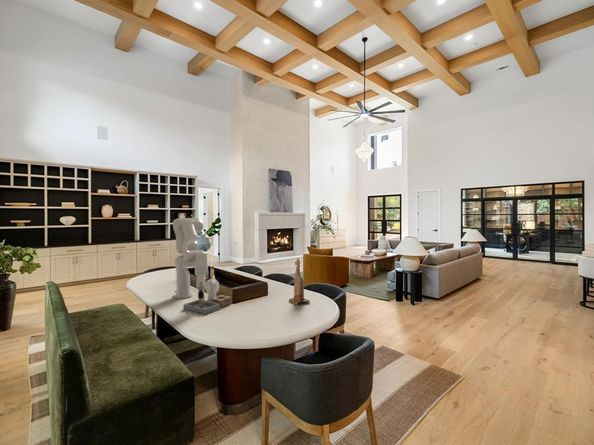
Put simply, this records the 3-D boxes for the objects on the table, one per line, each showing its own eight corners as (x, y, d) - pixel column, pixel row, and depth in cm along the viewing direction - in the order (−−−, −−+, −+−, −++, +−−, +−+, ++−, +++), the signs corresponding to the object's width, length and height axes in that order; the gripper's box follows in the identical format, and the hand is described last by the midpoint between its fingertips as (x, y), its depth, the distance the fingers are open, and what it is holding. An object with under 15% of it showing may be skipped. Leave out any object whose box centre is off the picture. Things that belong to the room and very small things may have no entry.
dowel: (198, 309, 190) (198, 287, 189) (199, 307, 193) (198, 286, 193) (204, 308, 191) (204, 287, 190) (204, 307, 194) (204, 286, 194)
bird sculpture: (301, 299, 214) (300, 256, 214) (310, 303, 204) (309, 257, 204) (288, 302, 208) (287, 257, 208) (297, 306, 198) (295, 259, 198)
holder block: (210, 305, 200) (210, 298, 199) (221, 301, 208) (221, 294, 208) (221, 308, 194) (221, 300, 194) (231, 304, 203) (231, 296, 203)
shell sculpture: (211, 302, 207) (210, 277, 206) (204, 300, 212) (203, 275, 211) (220, 299, 214) (220, 275, 213) (213, 297, 219) (213, 273, 218)
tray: (183, 309, 191) (183, 304, 191) (199, 304, 203) (199, 299, 202) (204, 315, 181) (204, 309, 181) (220, 309, 192) (219, 303, 192)
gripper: (196, 268, 199) (196, 292, 199) (193, 273, 182) (194, 300, 183) (207, 267, 200) (208, 292, 201) (206, 272, 184) (206, 299, 184)
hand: (201, 296), depth 192 cm, fingers open, 9 cm apart
